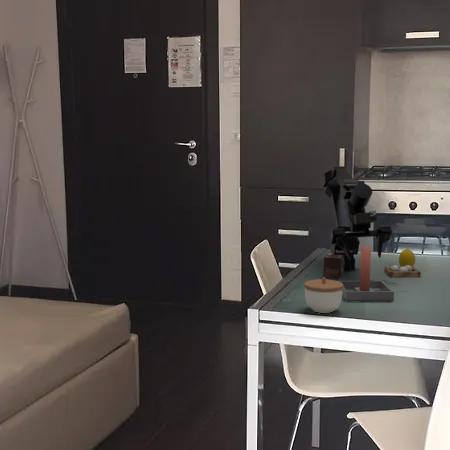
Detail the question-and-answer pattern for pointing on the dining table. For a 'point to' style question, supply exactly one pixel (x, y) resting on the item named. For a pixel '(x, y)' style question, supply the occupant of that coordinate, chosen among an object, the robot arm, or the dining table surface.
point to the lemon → (406, 258)
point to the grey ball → (403, 269)
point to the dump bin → (367, 292)
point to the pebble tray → (402, 273)
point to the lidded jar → (323, 294)
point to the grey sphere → (394, 268)
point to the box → (333, 266)
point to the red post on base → (365, 269)
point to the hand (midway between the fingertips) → (365, 258)
